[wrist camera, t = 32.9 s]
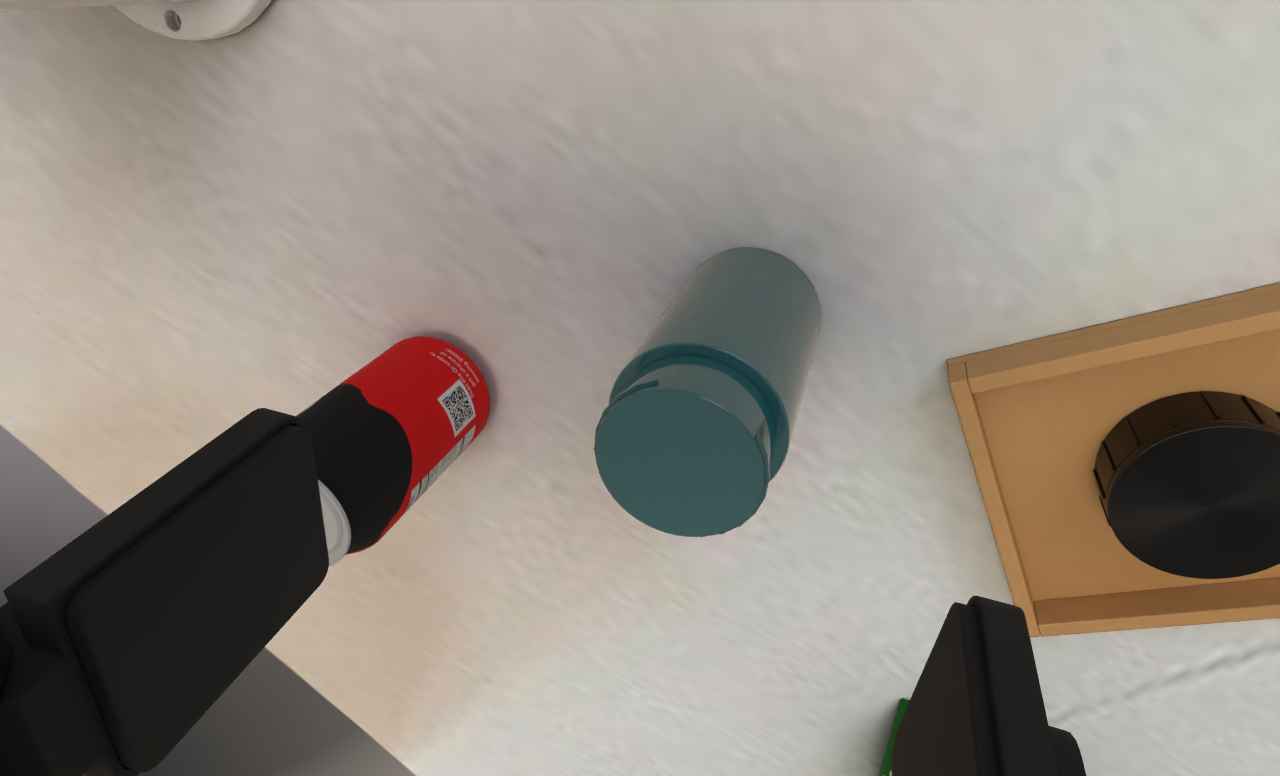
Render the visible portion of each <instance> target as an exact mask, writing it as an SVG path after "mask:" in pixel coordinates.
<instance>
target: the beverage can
mask: <svg viewBox="0 0 1280 776" xmlns="http://www.w3.org/2000/svg"><path fill="white" fill-rule="evenodd" d="M489 410H490V399H489V393H488V389H487V385H486V382H485V380H484V378H483V376H482V374H481V372H480V371H479V369H478V368H477V366H476V365H475V364H474V363H473V361H472V360H471V359H470V358H469V357H468V356H467V355H466V354H464V353H463V352H462V351H461V350H459V349H458V348H456V347H455V346H453V345H451V344H449V343H447V342H444V341H442V340H439V339H435V338H430V337H413V338H409V339H405V340H402V341H400V342H398V343H396V344H395V345H394V346H392V347H391V348H390V349H388V350H387V351H385V352H384V353H383V354H381V355H380V356H378V357H377V358H376V359H374V360H373V361H371V362H370V363H369V364H367V365H366V366H365V367H363V368H362V369H360V370H359V371H358V372H356V373H355V374H353V375H352V376H351V377H349V378H348V379H347V380H345V381H344V382H342V383H341V384H340V385H338V386H337V387H335V388H334V389H333V390H331V391H330V392H328V393H327V394H326V395H324V396H323V397H322V398H320V399H319V400H317V401H316V402H315V403H313V404H312V405H310V406H309V407H308V408H306V409H305V410H303V411H302V412H301V413H299V414H298V415H297V416H296V417H298V418H300V419H301V421H302V422H303V424H304V427H305V429H306V430H308V431H309V432H310V433H311V436H312V442H313V449H314V456H315V463H316V470H317V477H318V484H319V492H320V499H321V506H322V513H323V520H324V527H325V534H326V541H327V549H328V556H329V566H330V565H333V564H335V563H337V562H338V561H339V560H341V559H342V558H343V557H344V556H345V555H346V554H351V553H356V552H360V551H363V550H365V549H367V548H369V547H371V546H372V545H374V544H375V543H377V542H378V541H379V540H380V539H381V538H382V537H383V536H384V535H385V534H386V532H387V531H388V530H389V529H390V528H391V527H392V526H393V525H394V524H395V523H396V522H397V521H398V520H399V519H400V518H401V517H402V515H403V514H404V513H405V512H406V511H407V510H408V509H409V508H410V507H411V506H412V505H413V504H414V503H415V502H416V501H417V499H418V498H419V497H420V496H421V495H422V494H423V493H424V492H425V491H426V490H427V489H428V488H429V487H430V486H431V485H432V484H433V482H434V481H435V480H436V479H437V478H438V477H439V476H440V475H441V474H442V473H443V472H444V471H445V470H446V469H447V468H448V466H449V465H450V464H451V463H452V462H453V461H454V460H455V459H456V458H457V457H458V456H459V455H460V454H461V453H462V452H463V451H464V449H465V448H466V447H467V446H468V445H469V444H470V443H471V442H472V441H473V440H474V439H475V438H476V437H477V436H478V435H479V433H480V432H481V431H482V430H483V428H484V426H485V424H486V422H487V419H488V416H489Z"/></svg>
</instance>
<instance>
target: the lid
mask: <svg viewBox="0 0 1280 776" xmlns="http://www.w3.org/2000/svg"><path fill="white" fill-rule="evenodd" d="M1093 473H1094V476H1095V480H1096V485H1097V488H1098V491H1099V494H1100V496H1099V499H1100V502H1101V505H1102V508H1103V510H1104V513H1105V516H1106V519H1107V522H1108V525H1109V527H1110V526H1111V528H1112V530H1113V532H1114V534H1115V536H1116V538H1117V539H1118V540H1119V541H1120V543H1121V544H1122V545H1123V546H1124V547H1125V548H1126V549H1127V550H1128V551H1129V552H1130V553H1131V554H1132V555H1134V556H1135V557H1136V558H1138V559H1139V560H1140V561H1142V562H1144V563H1146V564H1148V565H1149V566H1151V567H1154V568H1156V569H1158V570H1161V571H1164V572H1167V573H1170V574H1173V575H1178V576H1183V577H1189V578H1197V579H1226V578H1234V577H1241V576H1245V575H1250V574H1254V573H1257V572H1260V571H1263V570H1266V569H1269V568H1271V567H1274V566H1276V565H1278V564H1280V412H1279V411H1278V412H1275V411H1274V410H1273V409H1271V408H1269V407H1268V406H1266V405H1264V404H1262V403H1260V402H1258V401H1255V400H1253V399H1250V398H1248V397H1246V396H1245V395H1242V396H1240V395H1237V394H1231V393H1225V392H1214V391H1199V392H1188V393H1181V394H1176V395H1172V396H1168V397H1164V398H1161V399H1158V400H1156V401H1153V402H1151V403H1149V404H1146V405H1144V406H1142V407H1140V408H1138V409H1137V410H1135V411H1133V412H1132V413H1130V414H1129V415H1128V416H1126V417H1124V419H1122V420H1121V421H1120V422H1119V423H1118V424H1117V425H1116V426H1115V427H1114V428H1113V429H1112V430H1111V431H1110V432H1109V434H1108V435H1107V436H1106V438H1105V439H1104V441H1103V442H1102V443H1101V446H1100V449H1099V451H1098V454H1097V457H1096V462H1095V470H1093Z"/></svg>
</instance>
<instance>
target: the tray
mask: <svg viewBox="0 0 1280 776" xmlns="http://www.w3.org/2000/svg"><path fill="white" fill-rule="evenodd" d="M947 367H948V379H949V386H950V389H951V393H952V396H953V400H954V403H955V406H956V410H957V413H958V416H959V420H960V423H961V427H962V430H963V433H964V437H965V440H966V444H967V447H968V450H969V454H970V457H971V460H972V464H973V467H974V471H975V474H976V477H977V481H978V484H979V487H980V491H981V494H982V498H983V501H984V504H985V508H986V511H987V514H988V518H989V521H990V525H991V528H992V531H993V535H994V538H995V541H996V545H997V548H998V552H999V555H1000V558H1001V562H1002V565H1003V568H1004V572H1005V575H1006V579H1007V582H1008V585H1009V589H1010V592H1011V596H1012V599H1013V602H1014V606H1017V607H1020V608H1021V609H1022V610H1023V611H1024V614H1025V617H1026V622H1027V627H1028V631H1029V636H1030V637H1039V636H1040V635H1041V636H1042V637H1043V636H1055V635H1068V634H1081V633H1094V632H1107V631H1120V630H1132V629H1145V628H1158V627H1171V626H1184V625H1197V624H1209V623H1222V622H1235V621H1248V620H1261V619H1273V618H1280V564H1278V565H1276V566H1274V567H1271V568H1269V569H1266V570H1263V571H1260V572H1257V573H1254V574H1250V575H1245V576H1241V577H1234V578H1226V579H1197V578H1189V577H1183V576H1178V575H1173V574H1170V573H1167V572H1164V571H1161V570H1158V569H1156V568H1154V567H1151V566H1149V565H1148V564H1146V563H1144V562H1142V561H1140V560H1139V559H1138V558H1136V557H1135V556H1134V555H1132V554H1131V553H1130V552H1129V551H1128V550H1127V549H1126V548H1125V547H1124V546H1123V545H1122V544H1121V543H1120V541H1119V540H1118V539H1117V538H1116V536H1115V534H1114V532H1113V530H1112V528H1111V526H1110V527H1109V525H1108V522H1107V519H1106V516H1105V513H1104V510H1103V508H1102V505H1101V502H1100V499H1099V496H1100V494H1099V491H1098V488H1097V485H1096V480H1095V476H1094V473H1093V470H1095V462H1096V457H1097V454H1098V451H1099V449H1100V446H1101V443H1102V442H1103V441H1104V439H1105V438H1106V436H1107V435H1108V434H1109V432H1110V431H1111V430H1112V429H1113V428H1114V427H1115V426H1116V425H1117V424H1118V423H1119V422H1120V421H1121V420H1122V419H1124V417H1126V416H1128V415H1129V414H1130V413H1132V412H1133V411H1135V410H1137V409H1138V408H1140V407H1142V406H1144V405H1146V404H1149V403H1151V402H1153V401H1156V400H1158V399H1161V398H1164V397H1168V396H1172V395H1176V394H1181V393H1188V392H1199V391H1214V392H1225V393H1231V394H1237V395H1240V396H1242V395H1245V396H1246V397H1248V398H1250V399H1253V400H1255V401H1258V402H1260V403H1262V404H1264V405H1266V406H1268V407H1269V408H1271V409H1273V410H1274V411H1275V412H1278V411H1279V412H1280V283H1277V284H1273V285H1268V286H1264V287H1260V288H1256V289H1251V290H1247V291H1243V292H1238V293H1234V294H1230V295H1225V296H1221V297H1217V298H1212V299H1208V300H1204V301H1199V302H1195V303H1191V304H1186V305H1182V306H1178V307H1173V308H1169V309H1165V310H1160V311H1156V312H1152V313H1148V314H1143V315H1139V316H1135V317H1130V318H1126V319H1122V320H1117V321H1113V322H1109V323H1104V324H1100V325H1096V326H1091V327H1087V328H1083V329H1078V330H1074V331H1070V332H1065V333H1061V334H1057V335H1052V336H1048V337H1044V338H1039V339H1035V340H1031V341H1027V342H1022V343H1018V344H1014V345H1009V346H1005V347H1001V348H996V349H992V350H988V351H983V352H979V353H975V354H970V355H966V356H962V357H957V358H953V359H949V360H947Z"/></svg>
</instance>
